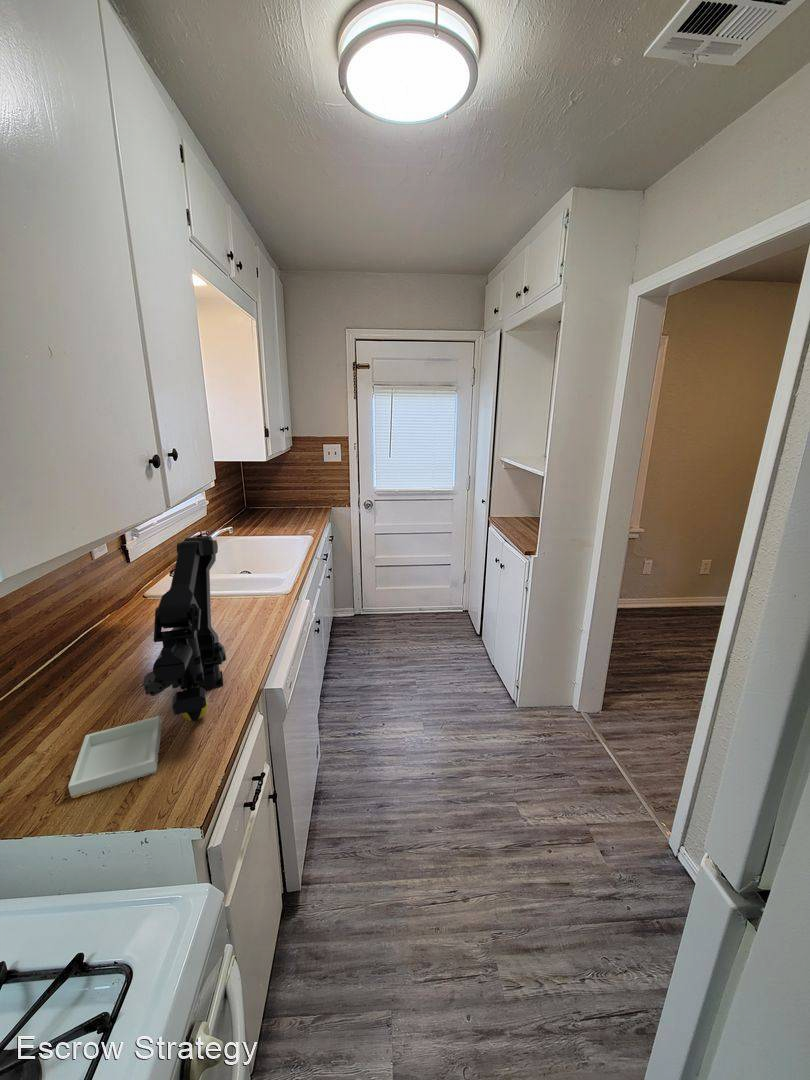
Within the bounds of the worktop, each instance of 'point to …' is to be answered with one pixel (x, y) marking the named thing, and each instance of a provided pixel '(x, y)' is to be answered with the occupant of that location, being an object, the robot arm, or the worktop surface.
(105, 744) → the tray
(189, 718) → the lemon
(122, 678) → the worktop surface
